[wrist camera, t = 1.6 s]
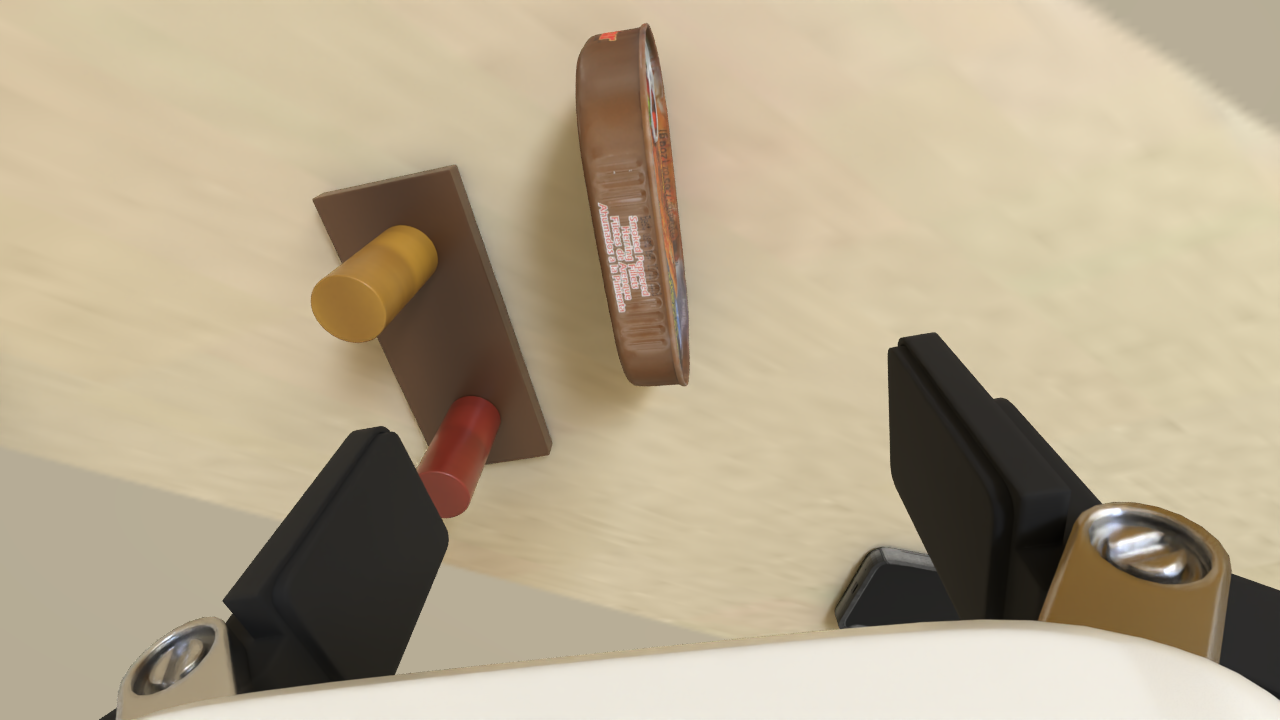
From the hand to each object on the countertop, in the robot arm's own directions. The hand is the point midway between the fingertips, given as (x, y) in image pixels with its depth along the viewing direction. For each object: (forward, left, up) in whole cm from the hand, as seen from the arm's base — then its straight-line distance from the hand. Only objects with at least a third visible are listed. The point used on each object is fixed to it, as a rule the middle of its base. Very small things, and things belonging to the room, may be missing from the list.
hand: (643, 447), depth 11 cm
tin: (-1, -1, -21) cm, 21 cm away
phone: (+15, -33, -20) cm, 41 cm away
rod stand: (-13, -6, -20) cm, 25 cm away
